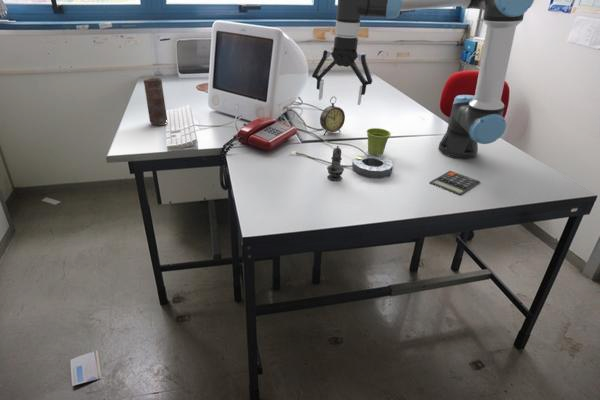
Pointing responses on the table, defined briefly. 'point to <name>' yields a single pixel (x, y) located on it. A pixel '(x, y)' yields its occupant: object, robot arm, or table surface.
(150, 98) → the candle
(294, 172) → the table surface
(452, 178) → the calculator
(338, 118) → the alarm clock
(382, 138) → the plant pot
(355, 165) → the ring
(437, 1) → the robot arm
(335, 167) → the dark stone statuette
